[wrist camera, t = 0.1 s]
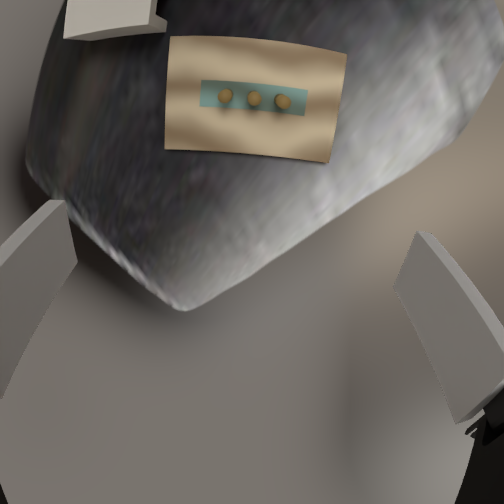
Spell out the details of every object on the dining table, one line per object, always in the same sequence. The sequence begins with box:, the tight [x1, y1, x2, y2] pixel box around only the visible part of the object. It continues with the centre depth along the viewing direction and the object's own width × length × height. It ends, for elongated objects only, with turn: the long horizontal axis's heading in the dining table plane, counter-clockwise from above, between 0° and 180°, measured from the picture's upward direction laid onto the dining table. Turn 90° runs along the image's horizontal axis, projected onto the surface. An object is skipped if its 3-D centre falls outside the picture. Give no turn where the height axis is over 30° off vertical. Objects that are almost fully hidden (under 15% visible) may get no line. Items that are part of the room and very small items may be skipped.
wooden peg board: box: [165, 36, 347, 163], centre depth 30 cm, size 14×20×6 cm
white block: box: [63, 0, 167, 41], centre depth 22 cm, size 6×10×7 cm, turn 84°
